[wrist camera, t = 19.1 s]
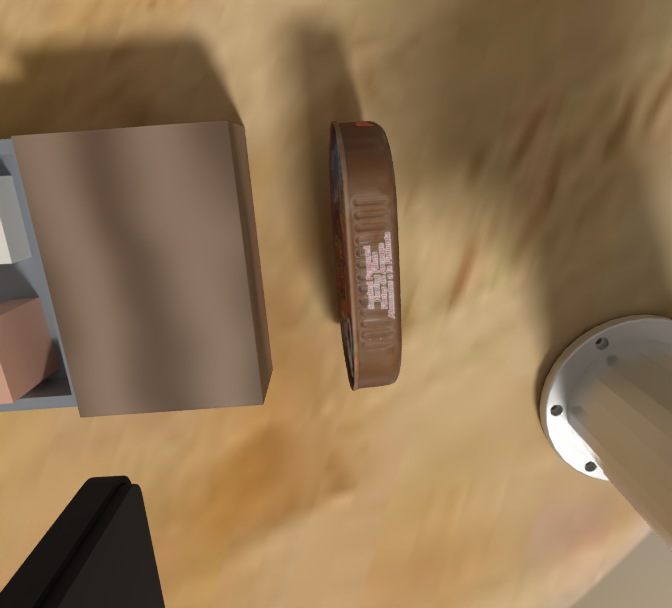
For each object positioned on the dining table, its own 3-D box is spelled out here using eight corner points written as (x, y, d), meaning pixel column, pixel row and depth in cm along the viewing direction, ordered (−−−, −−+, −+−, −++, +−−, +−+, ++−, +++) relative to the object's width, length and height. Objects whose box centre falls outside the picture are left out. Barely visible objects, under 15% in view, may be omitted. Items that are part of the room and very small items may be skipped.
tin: (326, 127, 29) (325, 114, 21) (378, 123, 29) (396, 109, 21) (342, 357, 34) (346, 418, 26) (387, 353, 34) (405, 414, 26)
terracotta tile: (-13, 321, 27) (-49, 324, 27) (13, 402, 28) (-21, 406, 28) (39, 297, 31) (9, 299, 31) (59, 367, 33) (30, 370, 33)
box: (58, 140, 29) (22, 137, 26) (111, 381, 34) (87, 405, 30) (-90, 151, 29) (-144, 150, 26) (-17, 390, 34) (-55, 415, 30)
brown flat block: (244, 126, 29) (227, 119, 24) (272, 369, 34) (263, 404, 29) (63, 140, 29) (10, 136, 24) (115, 380, 34) (80, 417, 29)
